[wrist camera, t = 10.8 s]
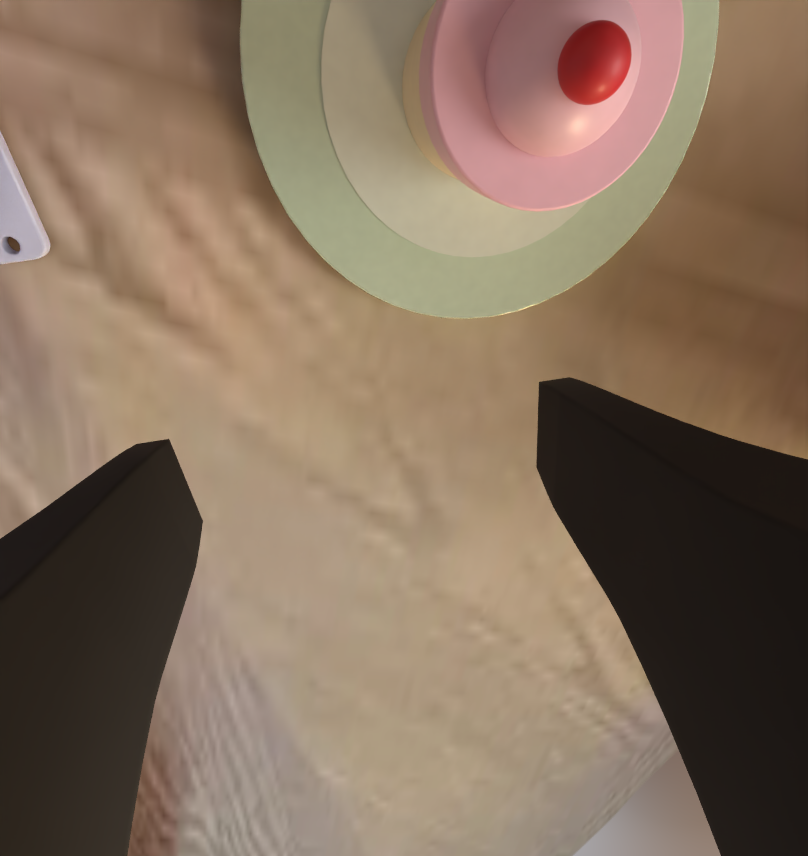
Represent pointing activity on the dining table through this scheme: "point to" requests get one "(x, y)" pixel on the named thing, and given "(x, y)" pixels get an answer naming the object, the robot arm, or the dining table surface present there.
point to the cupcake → (540, 92)
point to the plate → (427, 164)
